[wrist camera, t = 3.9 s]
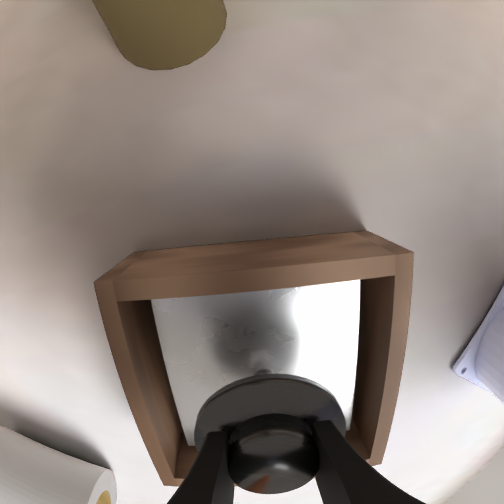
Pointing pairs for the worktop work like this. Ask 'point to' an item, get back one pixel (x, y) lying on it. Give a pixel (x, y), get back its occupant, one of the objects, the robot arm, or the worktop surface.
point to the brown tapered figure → (163, 29)
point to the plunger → (263, 374)
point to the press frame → (247, 280)
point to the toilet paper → (49, 475)
